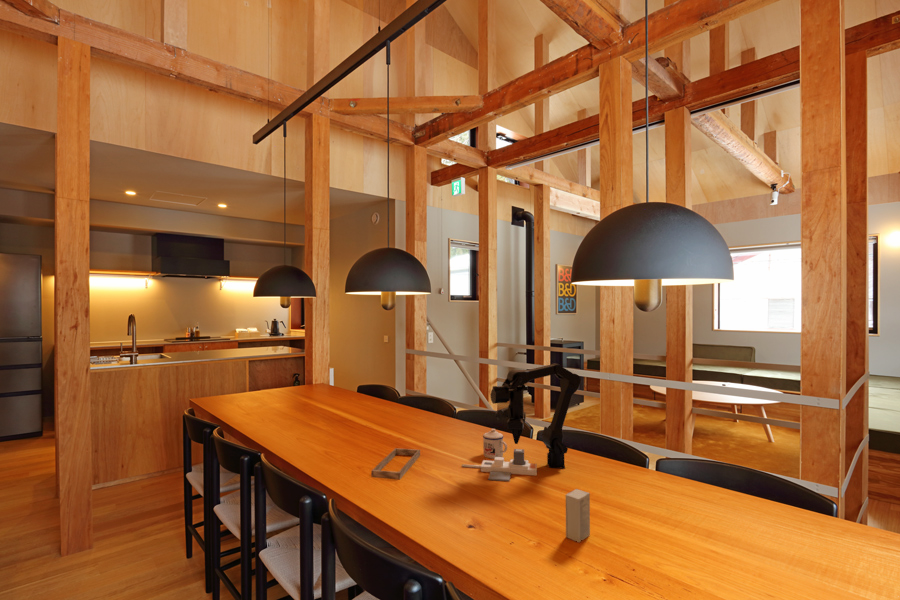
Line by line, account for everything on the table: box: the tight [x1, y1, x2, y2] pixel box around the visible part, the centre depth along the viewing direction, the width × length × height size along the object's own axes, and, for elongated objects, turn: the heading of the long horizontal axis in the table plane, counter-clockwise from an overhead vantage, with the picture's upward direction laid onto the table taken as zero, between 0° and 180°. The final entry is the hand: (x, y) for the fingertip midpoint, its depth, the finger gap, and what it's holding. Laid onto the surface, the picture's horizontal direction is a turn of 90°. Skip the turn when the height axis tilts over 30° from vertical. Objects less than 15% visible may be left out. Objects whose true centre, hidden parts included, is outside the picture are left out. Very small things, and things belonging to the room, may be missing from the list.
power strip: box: [461, 456, 538, 476], centre depth 179 cm, size 30×8×4 cm, turn 78°
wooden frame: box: [370, 447, 421, 480], centre depth 183 cm, size 12×29×2 cm, turn 168°
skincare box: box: [565, 488, 591, 543], centre depth 125 cm, size 6×4×12 cm
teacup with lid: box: [482, 428, 508, 459], centre depth 195 cm, size 12×9×12 cm
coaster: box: [487, 471, 512, 482], centre depth 171 cm, size 8×8×1 cm
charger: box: [513, 448, 525, 465], centre depth 177 cm, size 4×4×6 cm
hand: (517, 440), depth 178 cm, fingers open, 9 cm apart
